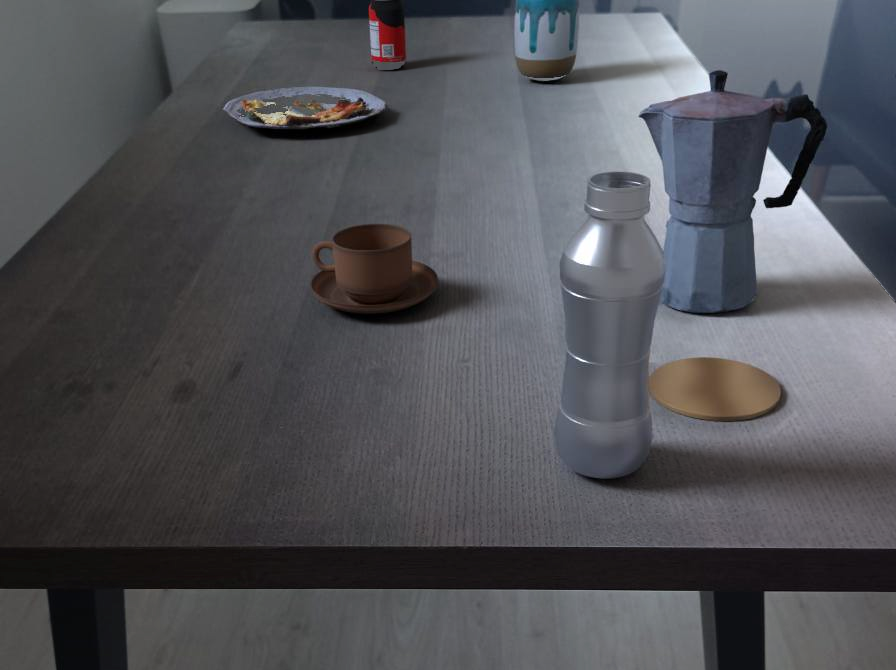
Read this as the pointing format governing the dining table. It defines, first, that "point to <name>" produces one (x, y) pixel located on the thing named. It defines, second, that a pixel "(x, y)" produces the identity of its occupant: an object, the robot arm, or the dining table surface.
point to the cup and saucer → (372, 271)
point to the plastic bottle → (609, 329)
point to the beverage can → (387, 30)
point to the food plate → (328, 118)
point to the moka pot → (719, 188)
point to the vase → (546, 37)
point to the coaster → (714, 389)
